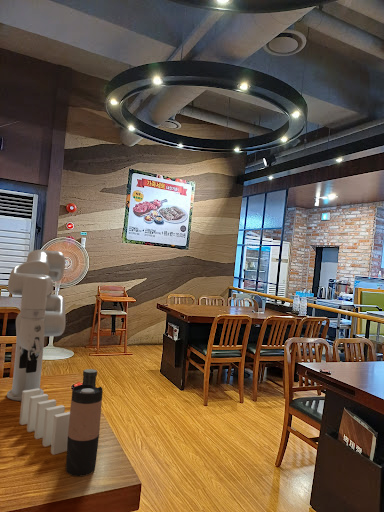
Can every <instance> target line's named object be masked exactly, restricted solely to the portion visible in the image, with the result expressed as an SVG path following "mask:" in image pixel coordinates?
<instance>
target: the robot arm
mask: <svg viewBox="0 0 384 512" xmlns="http://www.w3.org/2000/svg"><path fill="white" fill-rule="evenodd" d="M65 268H66V257H65V255H64V254H63V252H61V251H58V250H57V251H56V250H46V249H34V250H32V251H30V253H28V255H27V258H26V261H25V262H22V263H21V264H18V265H16V266H14V267H13V268H12V270H11V271H10V273H9V278H8V282H7V289H8V292H9V293H10V295H12V296H21V301H20V311H19V313H18V314H17V316H16V318H15V330H16V331H15V332H16V337H15V338H16V342H15V343H16V344H15V356H14V365H13V366H14V367H13V376H12V377H13V378H12V385H11V389H10V390H8V391H7V393H6V398H8V399H10V400H12V401H19V402H21V401H22V391H25V390H31V389H37V388H39V389H40V395H42V394H45V393H44V390H43V389H42V388H41V377H42V365H43V358H44V357H43V355H44V349H45V348H44V347H45V337H59V336H62V334H64V333H65V329H66V322H67V321H66V301H65V298H64V297H63V296H62V295H60V294H52V292H53V289H54V282H60V281H61V280H62V279H63V278H64V277H63V276H64V273H65Z"/></svg>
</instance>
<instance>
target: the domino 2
mask: <svg viewBox="0 0 384 512" xmlns="http://www.w3.org/2000/svg"><path fill="white" fill-rule="evenodd" d="M47 400H49V395H48V394H47V393H44V394H42V395H37V396H31V397H30V402H29V412H28V423H27V424H26V431H27V432H28V433H31V432H35V423H36V413H37V402H42V401H47Z"/></svg>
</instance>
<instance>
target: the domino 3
mask: <svg viewBox="0 0 384 512" xmlns="http://www.w3.org/2000/svg"><path fill="white" fill-rule="evenodd" d="M55 406H57V400H56V399H48V400H47V401H42V402H37V413H36V423H35V431H34V436H33V437H34V439H35V440H38V439H43V430H44V419H45V409H46V408H50V407H55Z"/></svg>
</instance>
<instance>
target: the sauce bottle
mask: <svg viewBox="0 0 384 512" xmlns="http://www.w3.org/2000/svg"><path fill="white" fill-rule="evenodd" d="M82 376H83V377H82V383H81V385H83V384H91V385H93V386H94V387H97V386H96V385H97V384H96V382H97V381H96V380H97V376H98V370H96V369H94V368H93V369H92V368H86V369H84V370H82Z"/></svg>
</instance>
